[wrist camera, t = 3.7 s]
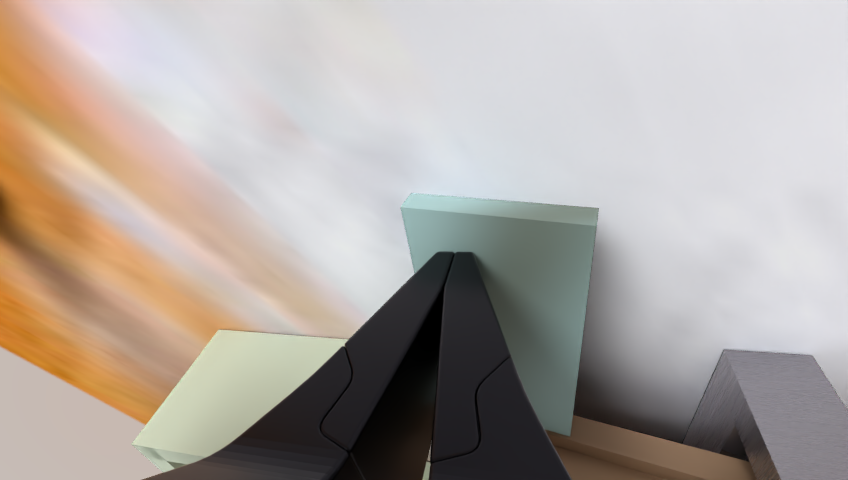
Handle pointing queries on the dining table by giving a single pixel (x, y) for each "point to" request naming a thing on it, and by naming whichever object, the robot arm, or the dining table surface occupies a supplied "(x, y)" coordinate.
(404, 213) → the lever
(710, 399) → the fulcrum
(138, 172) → the dining table surface
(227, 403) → the box
